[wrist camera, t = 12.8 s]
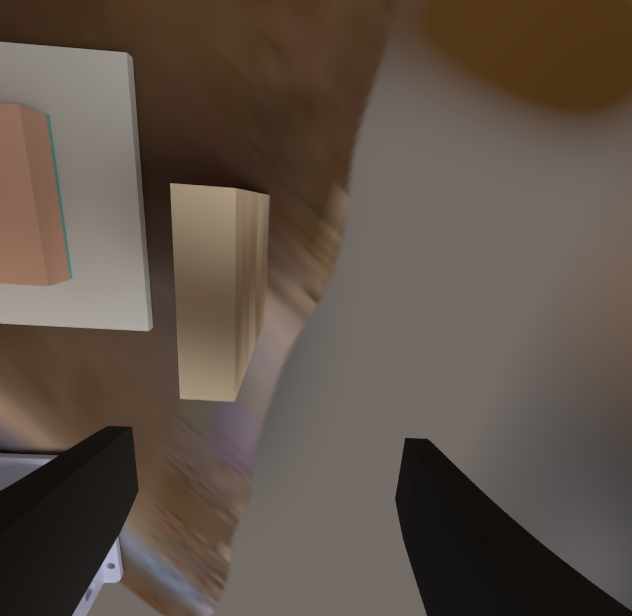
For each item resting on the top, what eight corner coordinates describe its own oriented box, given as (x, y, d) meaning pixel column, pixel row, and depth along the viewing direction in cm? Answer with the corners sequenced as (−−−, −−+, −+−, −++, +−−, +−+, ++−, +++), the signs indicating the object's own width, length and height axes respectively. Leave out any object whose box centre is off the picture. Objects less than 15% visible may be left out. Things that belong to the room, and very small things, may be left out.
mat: (153, 327, 18) (148, 331, 17) (-90, 314, 17) (-101, 318, 17) (132, 57, 14) (126, 52, 14) (-172, 32, 14) (-189, 25, 13)
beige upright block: (265, 316, 18) (235, 401, 10) (234, 314, 18) (179, 398, 10) (269, 195, 16) (235, 188, 9) (235, 192, 16) (170, 182, 8)
